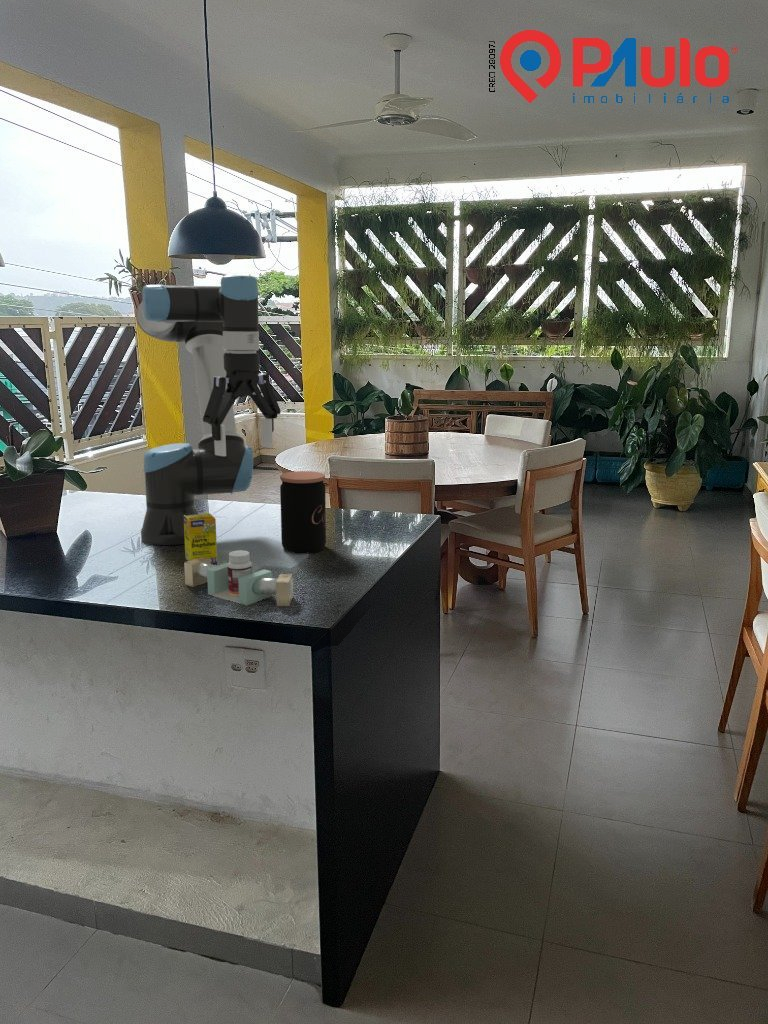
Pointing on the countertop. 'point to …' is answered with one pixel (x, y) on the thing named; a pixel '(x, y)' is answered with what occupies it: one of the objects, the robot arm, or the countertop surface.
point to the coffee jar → (303, 511)
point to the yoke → (220, 588)
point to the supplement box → (200, 537)
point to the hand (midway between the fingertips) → (244, 451)
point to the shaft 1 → (197, 571)
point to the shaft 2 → (276, 588)
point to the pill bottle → (238, 569)
